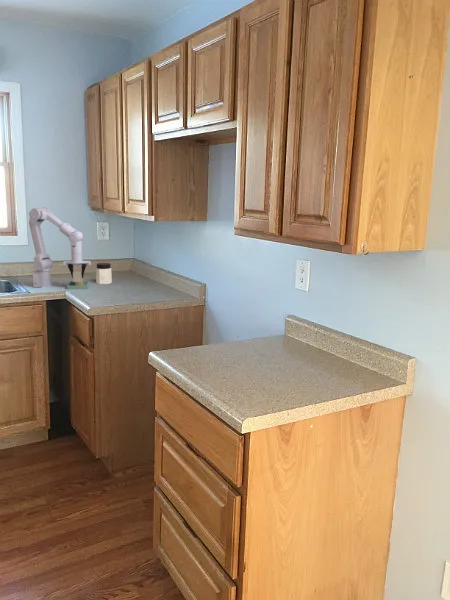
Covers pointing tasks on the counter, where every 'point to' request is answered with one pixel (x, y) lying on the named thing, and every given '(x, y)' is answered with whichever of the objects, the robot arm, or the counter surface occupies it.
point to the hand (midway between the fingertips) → (77, 277)
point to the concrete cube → (77, 276)
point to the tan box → (79, 283)
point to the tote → (72, 286)
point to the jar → (103, 273)
